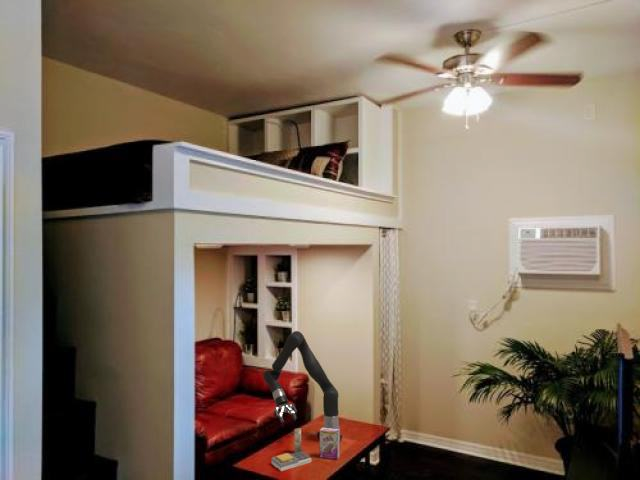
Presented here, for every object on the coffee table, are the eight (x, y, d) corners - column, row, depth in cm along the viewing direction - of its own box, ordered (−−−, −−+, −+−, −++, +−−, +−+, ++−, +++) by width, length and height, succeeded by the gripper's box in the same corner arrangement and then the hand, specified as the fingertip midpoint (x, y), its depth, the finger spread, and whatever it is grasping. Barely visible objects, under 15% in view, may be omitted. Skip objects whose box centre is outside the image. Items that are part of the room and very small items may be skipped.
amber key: (287, 455, 285) (287, 453, 285) (293, 459, 279) (293, 457, 279) (276, 458, 281) (276, 456, 281) (282, 462, 275) (282, 460, 275)
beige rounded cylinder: (299, 450, 300) (299, 427, 300) (304, 453, 295) (304, 430, 295) (291, 452, 296) (291, 429, 296) (296, 455, 292) (296, 432, 292)
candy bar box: (319, 458, 288) (318, 430, 288) (321, 454, 293) (321, 427, 293) (337, 460, 285) (337, 431, 285) (339, 456, 290) (339, 428, 290)
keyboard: (301, 455, 292) (301, 449, 292) (311, 461, 283) (311, 455, 283) (271, 463, 281) (271, 457, 281) (281, 471, 272) (281, 464, 272)
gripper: (272, 396, 308) (281, 420, 298) (291, 392, 316) (301, 415, 306) (268, 403, 312) (277, 426, 302) (287, 398, 320) (296, 421, 310)
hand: (289, 421), depth 304 cm, fingers open, 8 cm apart
